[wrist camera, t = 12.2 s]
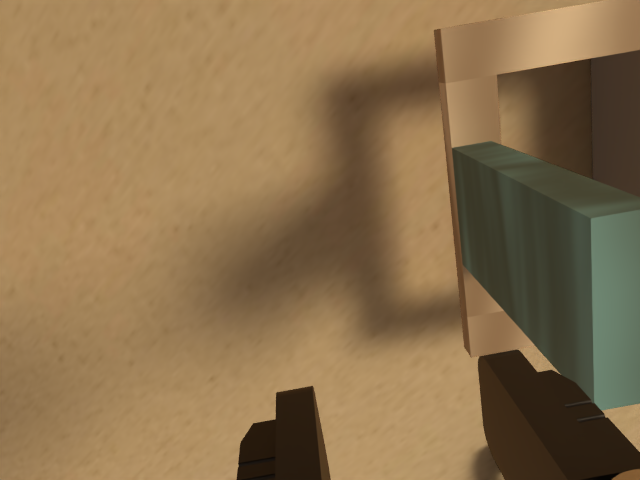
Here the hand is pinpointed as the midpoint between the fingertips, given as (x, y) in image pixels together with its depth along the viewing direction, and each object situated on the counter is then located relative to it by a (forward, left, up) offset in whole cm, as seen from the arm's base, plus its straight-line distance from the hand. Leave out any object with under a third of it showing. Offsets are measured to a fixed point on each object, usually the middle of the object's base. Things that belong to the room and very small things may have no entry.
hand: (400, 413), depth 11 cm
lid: (+12, 0, -14) cm, 18 cm away
